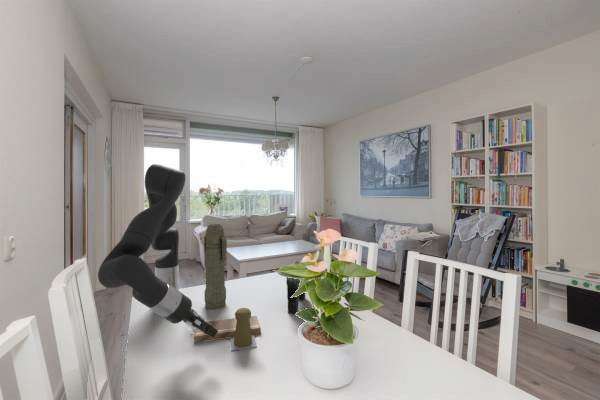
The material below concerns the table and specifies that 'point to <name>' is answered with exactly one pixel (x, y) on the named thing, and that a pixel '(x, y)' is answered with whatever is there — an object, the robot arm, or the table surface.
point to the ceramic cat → (291, 288)
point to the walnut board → (225, 329)
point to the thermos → (215, 266)
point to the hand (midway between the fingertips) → (208, 328)
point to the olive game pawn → (243, 328)
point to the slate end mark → (234, 348)
